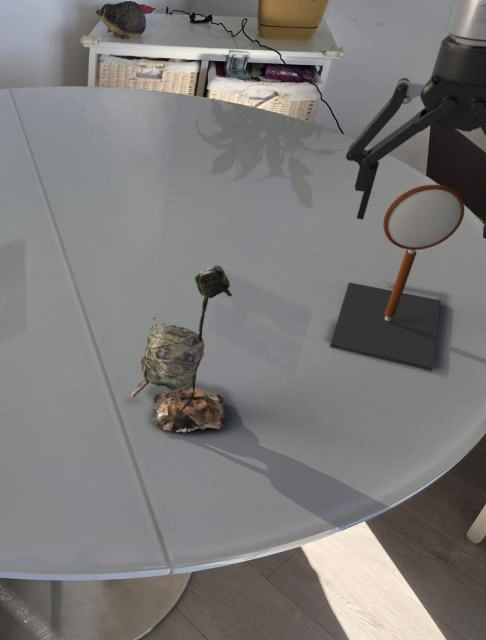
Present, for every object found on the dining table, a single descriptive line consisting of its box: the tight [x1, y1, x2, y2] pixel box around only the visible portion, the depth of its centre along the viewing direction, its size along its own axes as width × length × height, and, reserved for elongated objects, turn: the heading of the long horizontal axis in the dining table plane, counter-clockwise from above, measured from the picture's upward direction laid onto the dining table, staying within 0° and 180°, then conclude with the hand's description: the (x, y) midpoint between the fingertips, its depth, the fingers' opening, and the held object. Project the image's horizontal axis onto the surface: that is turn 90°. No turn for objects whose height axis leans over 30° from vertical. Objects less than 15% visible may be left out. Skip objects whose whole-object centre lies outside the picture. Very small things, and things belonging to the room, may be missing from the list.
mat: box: [329, 282, 441, 372], centre depth 88 cm, size 12×16×1 cm
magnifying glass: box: [382, 184, 465, 321], centre depth 81 cm, size 9×2×20 cm, turn 80°
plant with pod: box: [130, 264, 233, 433], centre depth 72 cm, size 8×11×20 cm
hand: (421, 223), depth 78 cm, fingers open, 13 cm apart
